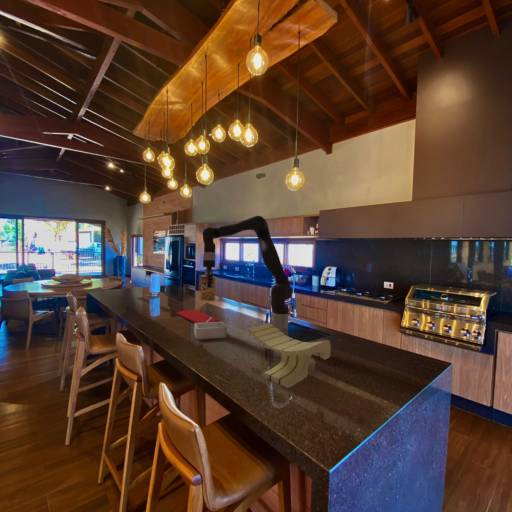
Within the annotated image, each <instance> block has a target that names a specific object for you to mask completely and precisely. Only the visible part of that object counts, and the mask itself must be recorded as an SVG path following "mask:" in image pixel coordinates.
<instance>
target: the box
mask: <svg viewBox="0 0 512 512" xmlns="http://www.w3.org/2000/svg"><path fill="white" fill-rule="evenodd" d="M227 330H228V329H227V326H226V325H225V323H224V322H223V321H221V322H207V323H194V322H193V334H194V338H195V340H197V341H198V340H207V339H208V340H210V339H223V338H224V339H225V338H227V332H228V331H227Z"/></svg>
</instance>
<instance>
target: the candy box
mask: <svg viewBox="0 0 512 512" xmlns="http://www.w3.org/2000/svg"><path fill="white" fill-rule="evenodd" d="M216 283H217V276H214V275H213V276H212V281H211V287H207V277H206V276H205V275H201V276H200V298H199V299H200V300H199V302H200V301H202V302H215V301H216V287H217V285H216Z"/></svg>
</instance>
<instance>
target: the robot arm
mask: <svg viewBox="0 0 512 512" xmlns="http://www.w3.org/2000/svg"><path fill="white" fill-rule="evenodd" d="M244 231H253V232H255V234H256V236H257V239H258V242H259V246H260V255H261V257H262V258H261V259H262V262H263V265H264V266H265V268H266V269H267V270H268V271H269V272H270V274H271V275H272V276H273V278H274V280H275V282H276V284H274V285H273V286H272V288H271V290H270V307H271V323H270V324H272V325H274V326H275V328H277V329H279V330H280V332H282V333H284V334H285V335H286V336H288V337H289V315H290V314H289V312H290V311H289V307H288V306H286V300H289V299H291V297H292V295H293V289H292V286H291V284H290V282H289V280H288V278H287V277H288V276H287V275H286V272H285V271H284V267H283V265H282V262H281V259H280V256H279V254H278V250H277V248H276V245H275V244H274V242H273V239H272V237H271V233H270V229H269V224H268V223H267V221H266V219H265V218H264V217H263V216H262V215H254V216H252V217H249V218H247V219H243V220H241V221H237V222H233V223H227V224H221V225H219V226H217V227H211V226H210V227H209V226H207V227H205V228H204V229H203V230H202V241H203V257H202V258H203V259H202V266H203V268H205V270H204V273H205V274H204V276H206V277H207V287H211V281H212V276H214V275H213V273H214V271H213V268H215V267H216V243H214V239H219V238H222V237H229V236H233V235H236V234H239V233H241V232H244Z"/></svg>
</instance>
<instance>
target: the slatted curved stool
mask: <svg viewBox="0 0 512 512" xmlns="http://www.w3.org/2000/svg"><path fill="white" fill-rule="evenodd" d="M248 335H249V336H252V337H253V340H256V341H257V340H258V343H259V344H261V345H262V344H263V348H266V349H268V350H272V351H274V352H276V353H281V360H280V362H279V363H277V365H276V366H274V367H272V368H271V369H268V370H266V371H264V372H263V374H262V377H263V378H265V379H267V380H270V381H271V382H273V383H276V384H277V385H280V386H282V387H285V388H287V389H289V388H291V387H293V386H294V385H296V384H298V383H300V382H302V381H303V380H305V379H306V378H307V377H308V374H309V373H308V372H309V363H310V360H311V357H312V355H313V356H316V357H319V358H321V359H323V360H324V361H326V360H327V359H329V358H331V350H332V349H331V346H332V345H331V341H330V340H329V339H325V340H321V341H318V342H315V341H313V342H306V341H301V340H298V339H296V338H295V339H294V338H292V337H290V336H289V335H288V336H286V335H285V334H284V333H282V332H280V330H279V329H277V328H275V326H274V325H272V324H271V323H265V324H260V325H256V326H253V327H249V328H248ZM305 377H306V378H305ZM304 378H305V379H304Z"/></svg>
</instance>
